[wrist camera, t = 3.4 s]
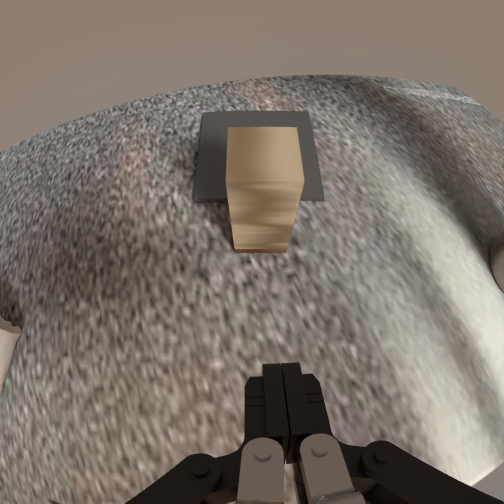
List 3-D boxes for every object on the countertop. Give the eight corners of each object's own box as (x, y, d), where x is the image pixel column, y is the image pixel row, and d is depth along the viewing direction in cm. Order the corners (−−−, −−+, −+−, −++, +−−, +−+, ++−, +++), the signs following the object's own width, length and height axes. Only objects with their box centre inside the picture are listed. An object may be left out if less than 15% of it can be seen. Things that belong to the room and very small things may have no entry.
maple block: (283, 208, 32) (296, 127, 21) (285, 252, 30) (304, 181, 19) (235, 209, 32) (228, 127, 21) (235, 253, 30) (225, 181, 19)
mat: (307, 115, 37) (308, 111, 37) (323, 200, 32) (324, 197, 32) (204, 115, 37) (203, 112, 37) (194, 202, 32) (193, 199, 31)
